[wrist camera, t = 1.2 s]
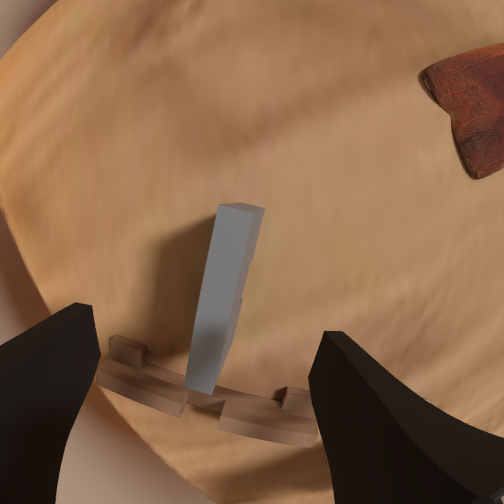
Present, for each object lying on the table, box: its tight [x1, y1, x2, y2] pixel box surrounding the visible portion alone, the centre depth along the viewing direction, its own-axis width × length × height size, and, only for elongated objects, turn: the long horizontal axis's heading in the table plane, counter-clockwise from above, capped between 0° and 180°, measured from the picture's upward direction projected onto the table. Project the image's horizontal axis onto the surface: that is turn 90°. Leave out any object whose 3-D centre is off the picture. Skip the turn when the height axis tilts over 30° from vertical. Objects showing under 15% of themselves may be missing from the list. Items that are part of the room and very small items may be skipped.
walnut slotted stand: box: [96, 335, 318, 448], centre depth 21 cm, size 18×5×4 cm, turn 77°
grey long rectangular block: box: [184, 203, 265, 395], centre depth 17 cm, size 10×2×7 cm, turn 167°
